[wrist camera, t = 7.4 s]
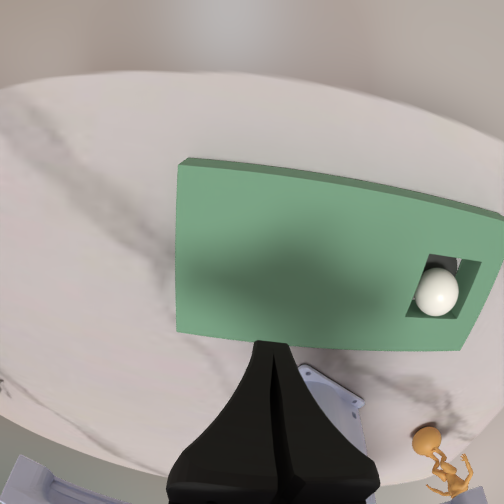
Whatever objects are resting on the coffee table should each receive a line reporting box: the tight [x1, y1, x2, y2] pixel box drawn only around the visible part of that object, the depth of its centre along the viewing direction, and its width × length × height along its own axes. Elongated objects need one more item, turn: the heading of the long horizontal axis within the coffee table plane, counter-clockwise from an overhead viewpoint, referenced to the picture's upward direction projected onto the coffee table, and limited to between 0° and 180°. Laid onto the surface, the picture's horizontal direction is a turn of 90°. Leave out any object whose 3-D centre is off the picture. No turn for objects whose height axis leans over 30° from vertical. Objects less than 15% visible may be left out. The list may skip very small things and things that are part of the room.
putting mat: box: [175, 158, 504, 351], centre depth 21 cm, size 24×12×2 cm, turn 84°
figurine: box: [412, 427, 473, 499], centre depth 27 cm, size 8×6×12 cm
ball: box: [414, 268, 459, 316], centre depth 21 cm, size 4×4×4 cm
